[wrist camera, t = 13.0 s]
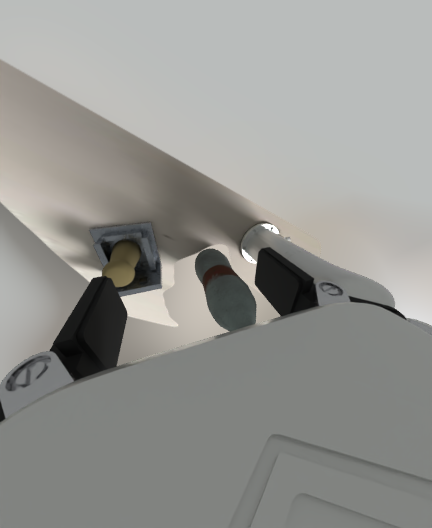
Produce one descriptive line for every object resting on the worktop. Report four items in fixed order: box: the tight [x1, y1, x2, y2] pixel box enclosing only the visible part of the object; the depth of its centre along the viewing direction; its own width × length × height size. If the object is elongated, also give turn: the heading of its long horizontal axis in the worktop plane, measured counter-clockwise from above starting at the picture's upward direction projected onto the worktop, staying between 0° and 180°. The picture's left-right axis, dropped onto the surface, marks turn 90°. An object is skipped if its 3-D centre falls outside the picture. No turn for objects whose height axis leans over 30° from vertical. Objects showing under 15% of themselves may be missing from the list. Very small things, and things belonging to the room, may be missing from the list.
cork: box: [102, 240, 142, 287], centre depth 32 cm, size 6×6×11 cm
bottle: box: [195, 249, 256, 331], centre depth 34 cm, size 9×9×30 cm
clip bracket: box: [89, 222, 162, 297], centre depth 34 cm, size 12×12×10 cm
